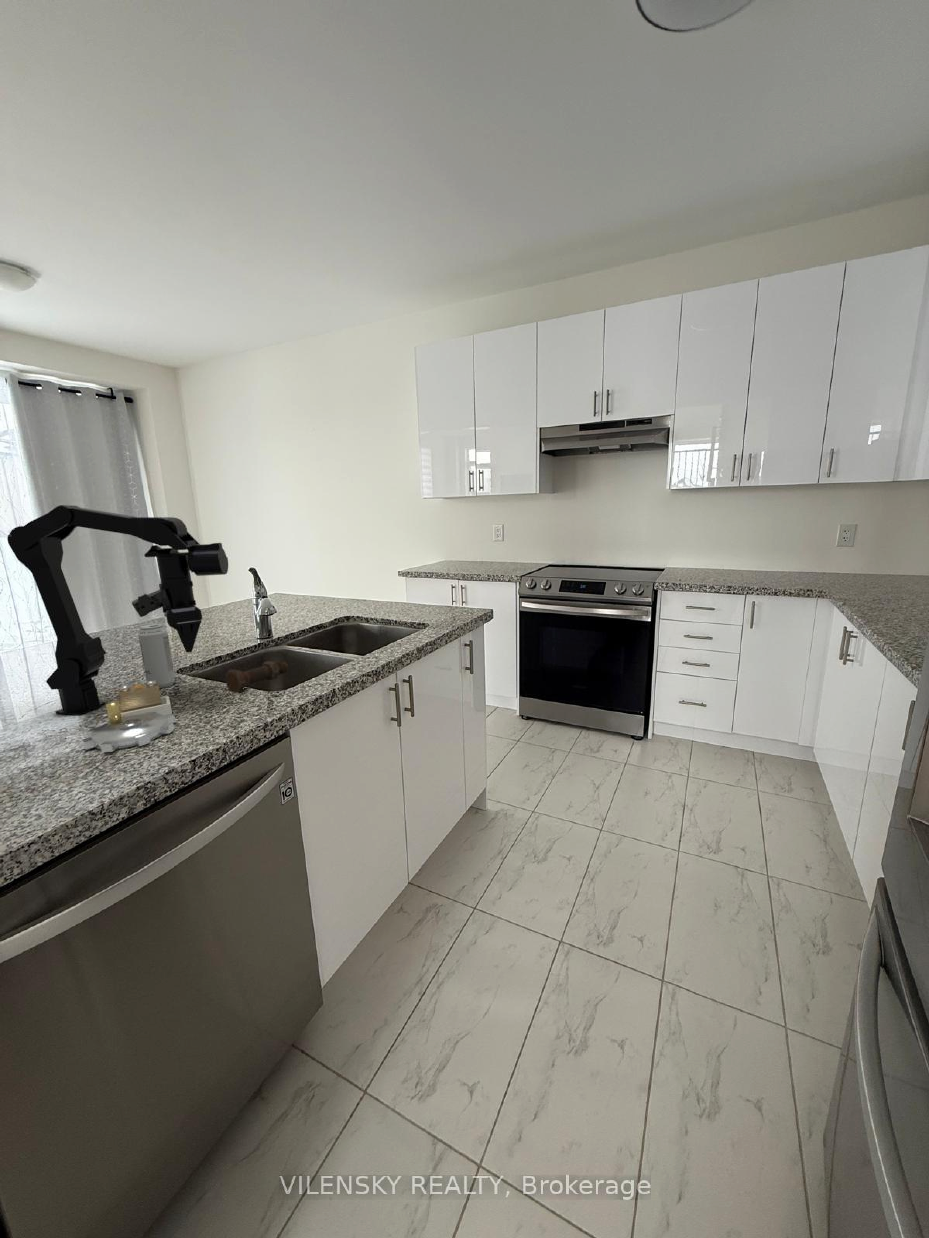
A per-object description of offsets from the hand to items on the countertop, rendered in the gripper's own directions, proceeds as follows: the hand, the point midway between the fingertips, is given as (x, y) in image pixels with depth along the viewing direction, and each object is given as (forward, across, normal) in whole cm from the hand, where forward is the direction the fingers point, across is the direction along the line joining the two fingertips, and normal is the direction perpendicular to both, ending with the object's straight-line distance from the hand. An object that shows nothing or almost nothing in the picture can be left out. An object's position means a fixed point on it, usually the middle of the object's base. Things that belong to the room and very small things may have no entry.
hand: (186, 647), depth 109 cm
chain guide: (+12, +3, -10) cm, 16 cm away
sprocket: (+12, +14, -12) cm, 22 cm away
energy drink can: (+12, -17, -6) cm, 22 cm away
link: (+11, +3, -10) cm, 15 cm away
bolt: (+12, -3, +15) cm, 20 cm away
